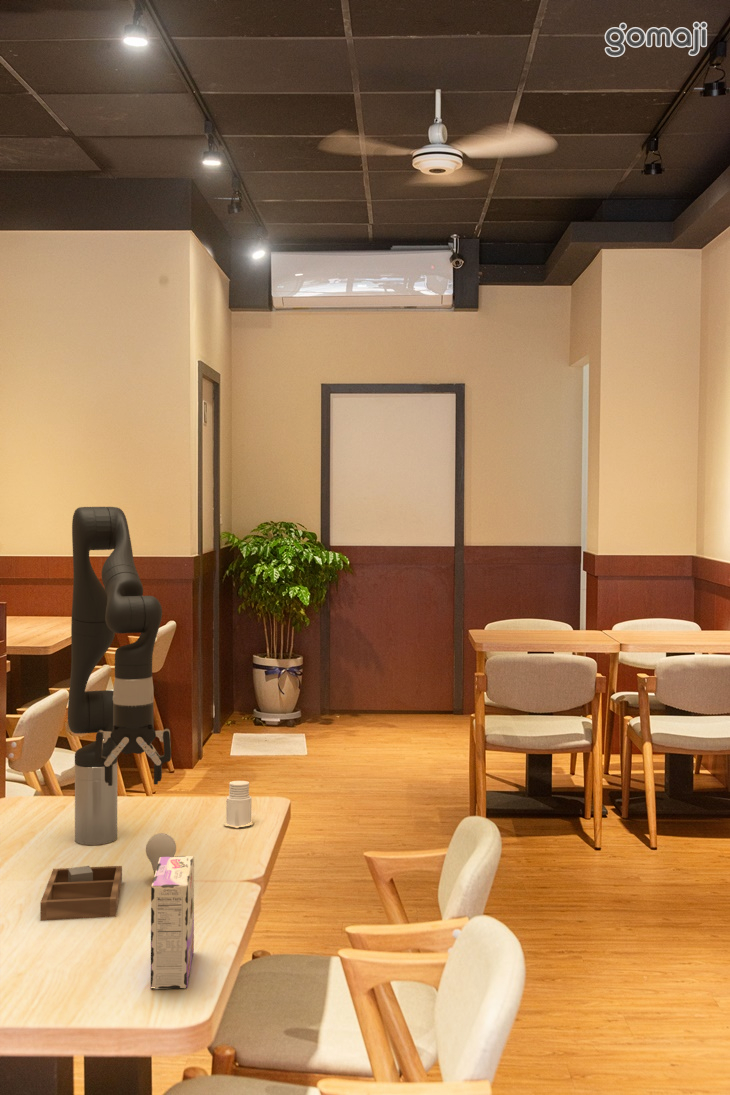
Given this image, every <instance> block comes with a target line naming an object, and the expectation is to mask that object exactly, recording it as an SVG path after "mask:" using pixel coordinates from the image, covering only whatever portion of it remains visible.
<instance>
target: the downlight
mask: <svg viewBox="0 0 730 1095" xmlns="http://www.w3.org/2000/svg"><path fill="white" fill-rule="evenodd" d="M228 785H229V786H228V787H229V788H228V794H229V795H227V796H226V807H225V808H226V809H225V810H226V812H225V813H226V817H225V819H226V821H225V822H226V823H227V824H229V825H233V826H241V825H246V824H248V823H250V822H251V821H252V796H251V795H250V782H249V781H248V780H247V781H246V780H233V781H230V782H229V784H228Z"/></svg>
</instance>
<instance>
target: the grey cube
mask: <svg viewBox="0 0 730 1095" xmlns="http://www.w3.org/2000/svg"><path fill="white" fill-rule="evenodd" d="M90 867H91V866H90V865H83V866H77V867H67V868H68V882H80V881H93V871H92V870H91V868H90Z"/></svg>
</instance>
